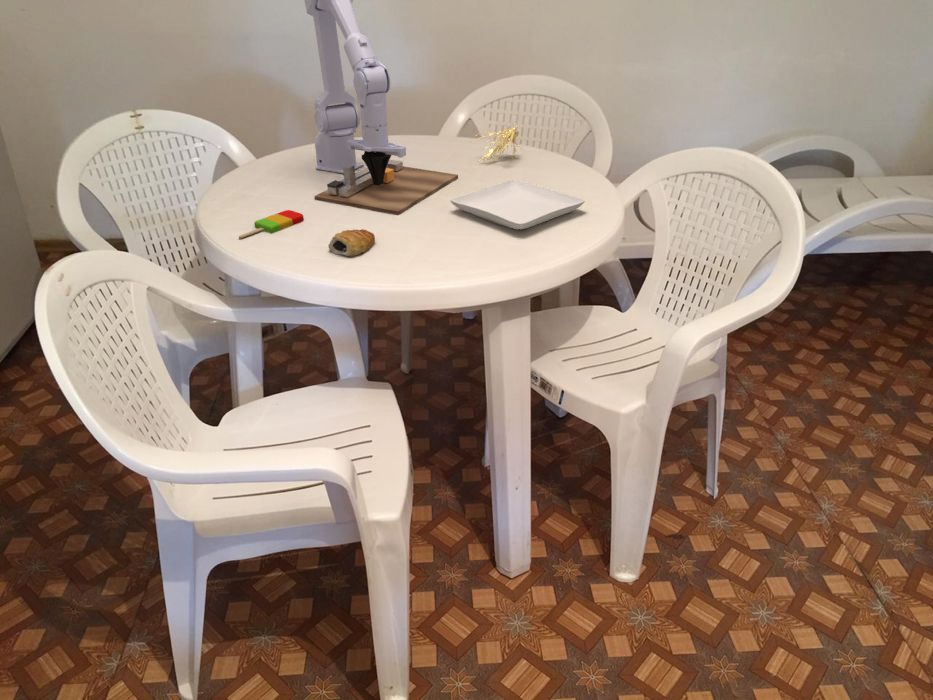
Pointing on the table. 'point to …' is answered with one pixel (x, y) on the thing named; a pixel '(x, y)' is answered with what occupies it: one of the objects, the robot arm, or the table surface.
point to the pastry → (351, 242)
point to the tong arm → (353, 182)
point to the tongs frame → (335, 185)
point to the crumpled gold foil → (502, 141)
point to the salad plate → (517, 203)
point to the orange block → (388, 175)
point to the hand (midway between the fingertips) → (378, 183)
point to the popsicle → (276, 222)
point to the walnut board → (395, 191)
